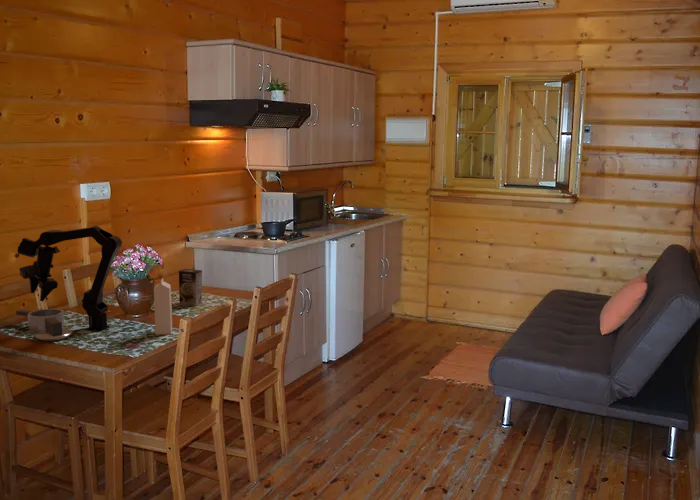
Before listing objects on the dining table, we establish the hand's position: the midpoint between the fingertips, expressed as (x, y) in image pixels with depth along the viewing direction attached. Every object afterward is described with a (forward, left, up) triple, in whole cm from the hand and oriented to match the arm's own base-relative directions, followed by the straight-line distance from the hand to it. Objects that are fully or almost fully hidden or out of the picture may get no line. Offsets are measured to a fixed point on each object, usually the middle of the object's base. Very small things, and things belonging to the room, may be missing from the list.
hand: (36, 296), depth 274 cm
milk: (-51, -13, -13) cm, 54 cm away
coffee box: (-36, -57, -13) cm, 69 cm away
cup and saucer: (-15, +8, -13) cm, 22 cm away
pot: (+2, -2, -13) cm, 13 cm away
